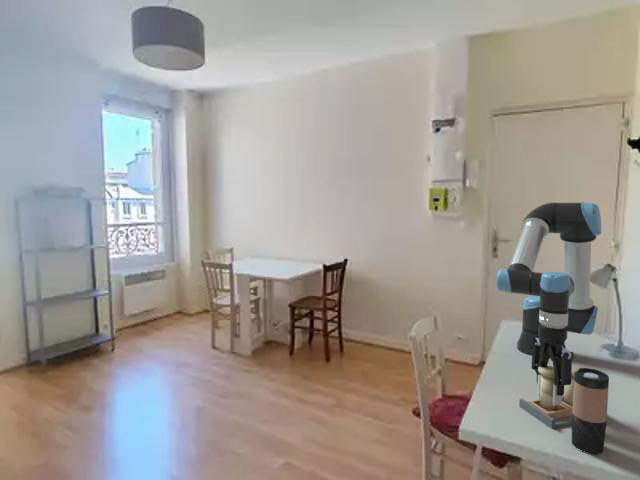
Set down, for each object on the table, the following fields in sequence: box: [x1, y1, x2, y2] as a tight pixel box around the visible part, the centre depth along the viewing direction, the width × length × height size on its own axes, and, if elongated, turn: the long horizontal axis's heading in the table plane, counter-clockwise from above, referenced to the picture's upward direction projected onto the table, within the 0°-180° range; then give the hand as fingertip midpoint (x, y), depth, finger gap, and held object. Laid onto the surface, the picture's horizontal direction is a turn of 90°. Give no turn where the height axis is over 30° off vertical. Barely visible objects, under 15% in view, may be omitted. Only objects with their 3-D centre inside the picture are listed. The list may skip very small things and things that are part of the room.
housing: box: [518, 365, 581, 429], centre depth 127 cm, size 13×19×13 cm
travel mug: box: [571, 367, 610, 455], centre depth 110 cm, size 8×8×20 cm
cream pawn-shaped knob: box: [538, 365, 558, 412], centre depth 126 cm, size 6×6×12 cm
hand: (549, 399), depth 127 cm, fingers open, 5 cm apart
